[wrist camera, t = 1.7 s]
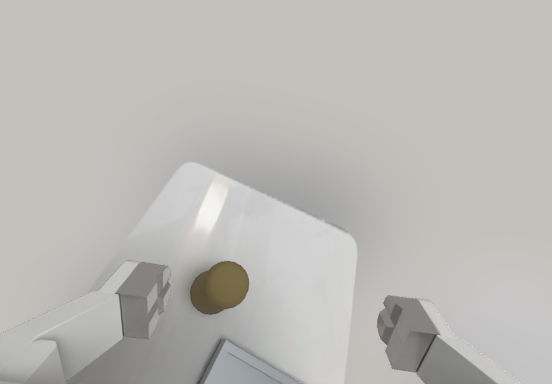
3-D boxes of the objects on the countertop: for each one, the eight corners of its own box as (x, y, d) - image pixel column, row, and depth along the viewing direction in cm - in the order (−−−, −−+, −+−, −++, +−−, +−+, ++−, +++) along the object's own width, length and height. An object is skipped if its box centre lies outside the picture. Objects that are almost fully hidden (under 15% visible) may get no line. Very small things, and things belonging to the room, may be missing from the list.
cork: (185, 277, 37) (195, 263, 28) (226, 264, 40) (247, 248, 31) (196, 321, 36) (209, 322, 27) (237, 305, 39) (263, 300, 29)
